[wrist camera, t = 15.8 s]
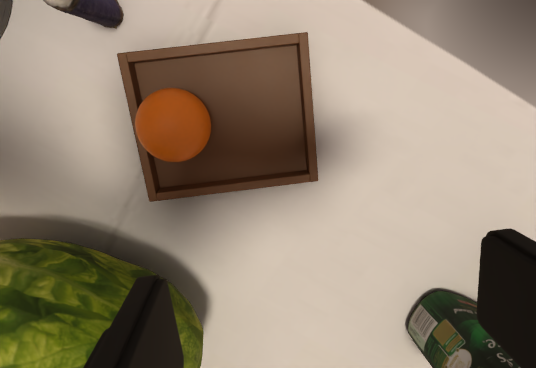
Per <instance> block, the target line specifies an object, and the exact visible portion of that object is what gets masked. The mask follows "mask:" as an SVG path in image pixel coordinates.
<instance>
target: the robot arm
mask: <svg viewBox="0 0 536 368" xmlns="http://www.w3.org/2000/svg"><path fill="white" fill-rule="evenodd" d="M476 313H477V319H478V322H479V324H480V326H481V327H482V328H483V329H484V330H485V331H486V332H487V333H488V334H489V335H490V336H491V337H492V338H493V339H494V340H495V342H496V343H497V344H498V345H499V346H500V347H501V348H502V349H503V350H504V351H505V352H506V353H507V354H508V355H509V356H510V357H511V358H512V359H513V360H514V361H515V362H516V363H517V364H518V365H519V366H520V367H521V368H536V242H535V241H533V240H532V239H530V238H528V237H526V236H524V235H523V234H521V233H519V232H517V231H515V230H513V229H503V230H495V231H490V232H488V233H487V235H486V237H484V238H483V239H482V242H481V256H480V270H479V284H478V298H477V312H476ZM83 368H184V355H183V350H182V346H181V341H180V336H179V332H178V327H177V323H176V318H175V314H174V309H173V305H172V300H171V296H170V291H169V286H168V282H167V280H166V279H161V278H160V276H159V275H150V276H143V277H138V278H137V279H136V280H135V282H134V284H133V286H132V288H131V289H130V291H129V293H128V295H127V297H126V298H125V300H124V302H123V304H122V306H121V308H120V309H119V311H118V313H117V315H116V317H115V318H114V320H113V322H112V324H111V326H110V327H109V328H108V329H106V330H105V331H104V332H103V333H102V335H101V337H100V339H99V340H98V342H97V344H96V346H95V347H94V349H93V351H92V353H91V354H90V356H89V358H88V360H87V362H86V363H85V365H84V367H83Z"/></svg>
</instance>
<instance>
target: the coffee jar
mask: <svg viewBox="0 0 536 368" xmlns="http://www.w3.org/2000/svg"><path fill="white" fill-rule="evenodd" d="M476 312H477V303H476V302H474V301H472V300H470V299H467V298H465V297H463V296H460V295H457V294H453V293H450V292H446V291H436V292H434V293H432V294H430V295H428V296H427V297H425V298H424V299H423V300H422V301H421V302H420V303H419V304H418V305H417V307H416V308H415V310H414V311H413V313H412V315H411V318H410V320H409V324H408V332H409V335H410V336H411V338H412V339H413V341H414V342H415V344H416V345H417V347H418V348H419V350H420V351H421V352H422V354H423V355H424V356H425V358H426V359H427V361H428V362H429V363H430V365H431V366H432V367H433V368H521V367H520V366H519V365H518V364H517V363H516V362H515V361H514V360H513V359H512V358H511V357H510V356H509V355H508V354H507V353H506V352H505V351H504V350H503V349H502V348H501V347H500V346H499V345H498V344H497V343H496V342H495V340H494V339H493V338H492V337H491V336H490V335H489V334H488V333H487V332H486V331H485V330H484V329H483V328H482V327H481V326H480V324H479V322H478V319H477V313H476Z"/></svg>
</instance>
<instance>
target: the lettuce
mask: <svg viewBox="0 0 536 368" xmlns="http://www.w3.org/2000/svg"><path fill="white" fill-rule="evenodd" d="M150 275H157V274H155V273H154V272H152V271H150V270H148V269H146V268H143V267H140V266H137V265H134V264H131V263H128V262H125V261H122V260H119V259H117V258H115V257H112V256H110V255H107V254H105V253H102V252H100V251H97V250H93V249H90V248H87V247H83V246H80V245H77V244H73V243H67V242H60V241H53V240H42V239H24V238H21V239H9V240H0V368H83V367H84V365H85V363H86V362H87V360H88V358H89V356H90V354H91V353H92V351H93V349H94V347H95V346H96V344H97V342H98V340H99V339H100V337H101V335H102V333H103V332H104V331H105V330H106V329H108V328H109V327H110V326H111V324H112V322H113V320H114V318H115V317H116V315H117V313H118V311H119V309H120V308H121V306H122V304H123V302H124V300H125V298H126V297H127V295H128V293H129V291H130V289H131V288H132V286H133V284H134V282H135V280H136V279H137V278H138V277H143V276H150ZM160 278H161V279H164V278H162V277H160ZM167 282H168V286H169V291H170V296H171V300H172V305H173V309H174V314H175V318H176V323H177V327H178V332H179V336H180V341H181V346H182V350H183V355H184V368H200V366H201V360H202V350H203V328H202V325H201V323H200V321H199V319H198V317H197V315H196V313H195V311H194V309H193V307H192V305H191V304H190V302H189V301H188V300H187V299H186V298H185V297H184V296H183V295H182V294H181V293H180V292H179V291H178V290H177V289H176V288H175V287H174V286H173V285H172V284H171V283H170V282H169V281H167Z"/></svg>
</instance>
